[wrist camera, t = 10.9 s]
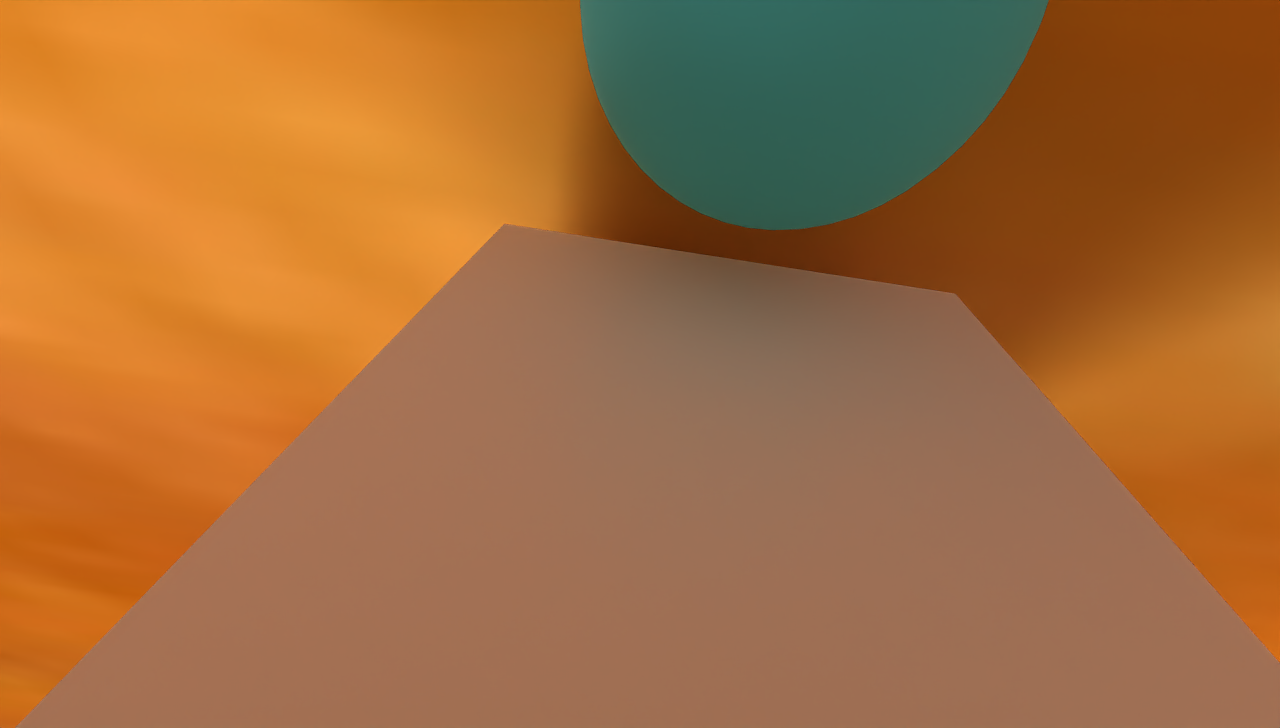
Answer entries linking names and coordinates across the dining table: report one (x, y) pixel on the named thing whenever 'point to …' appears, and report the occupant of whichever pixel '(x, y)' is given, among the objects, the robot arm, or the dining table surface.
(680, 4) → the ball
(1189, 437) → the dining table surface
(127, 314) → the dining table surface
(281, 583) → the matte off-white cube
